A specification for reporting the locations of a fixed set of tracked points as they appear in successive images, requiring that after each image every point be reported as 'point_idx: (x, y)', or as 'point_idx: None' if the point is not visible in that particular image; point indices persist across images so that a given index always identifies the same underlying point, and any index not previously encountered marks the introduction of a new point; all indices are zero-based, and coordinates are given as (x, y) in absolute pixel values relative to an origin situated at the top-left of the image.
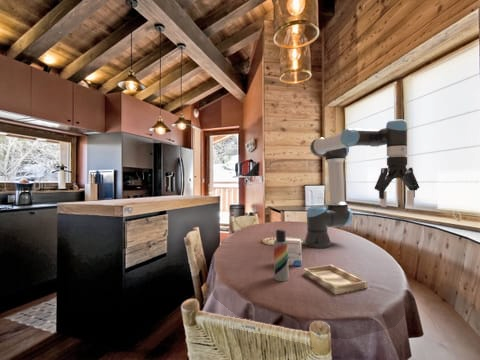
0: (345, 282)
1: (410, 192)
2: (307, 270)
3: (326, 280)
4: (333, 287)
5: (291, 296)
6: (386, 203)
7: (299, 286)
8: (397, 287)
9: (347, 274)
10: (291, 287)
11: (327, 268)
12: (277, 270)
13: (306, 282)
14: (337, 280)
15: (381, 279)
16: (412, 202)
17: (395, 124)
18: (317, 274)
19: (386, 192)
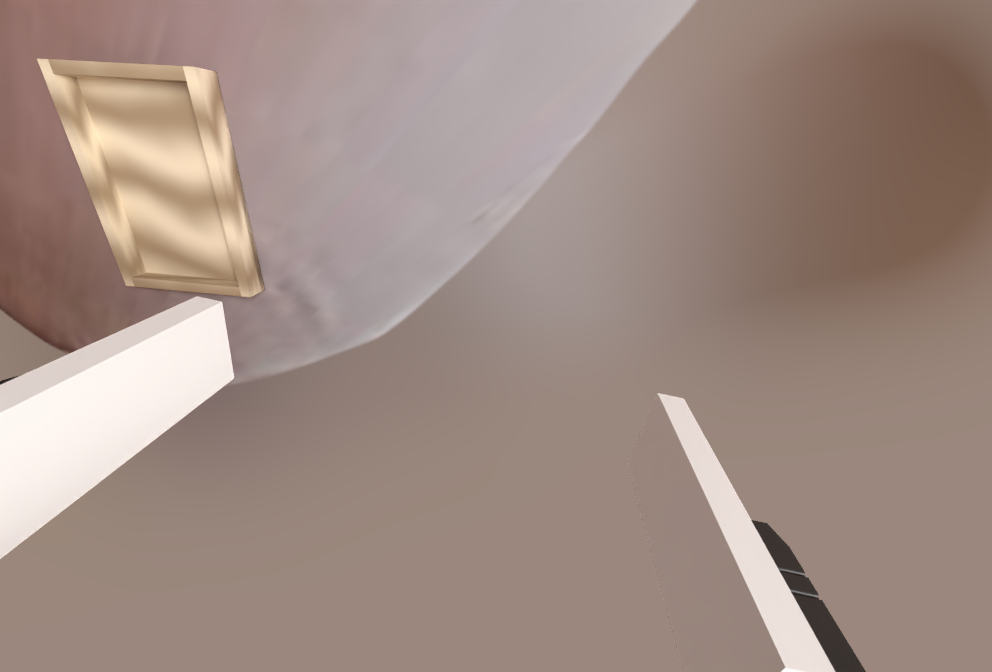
0: (206, 234)
1: (710, 651)
2: (53, 94)
3: (141, 188)
4: (125, 276)
5: (7, 231)
6: (197, 404)
7: (38, 176)
8: (363, 325)
9: (221, 207)
10: (8, 171)
11: (177, 81)
12: None
13: (69, 155)
14: (184, 206)
15: (363, 259)
16: (637, 494)
17: None
18: (121, 113)
19: (2, 556)
